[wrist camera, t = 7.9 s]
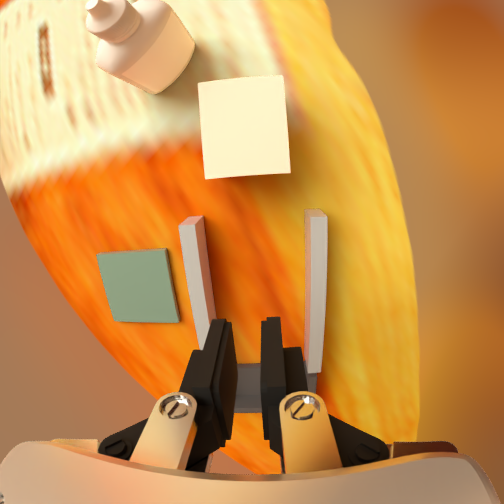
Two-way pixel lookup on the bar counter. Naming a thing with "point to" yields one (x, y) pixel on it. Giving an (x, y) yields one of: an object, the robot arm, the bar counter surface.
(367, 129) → the bar counter surface
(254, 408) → the tray
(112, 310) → the green coaster
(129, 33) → the eye dropper bottle
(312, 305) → the channel
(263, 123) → the cream block
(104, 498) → the robot arm
